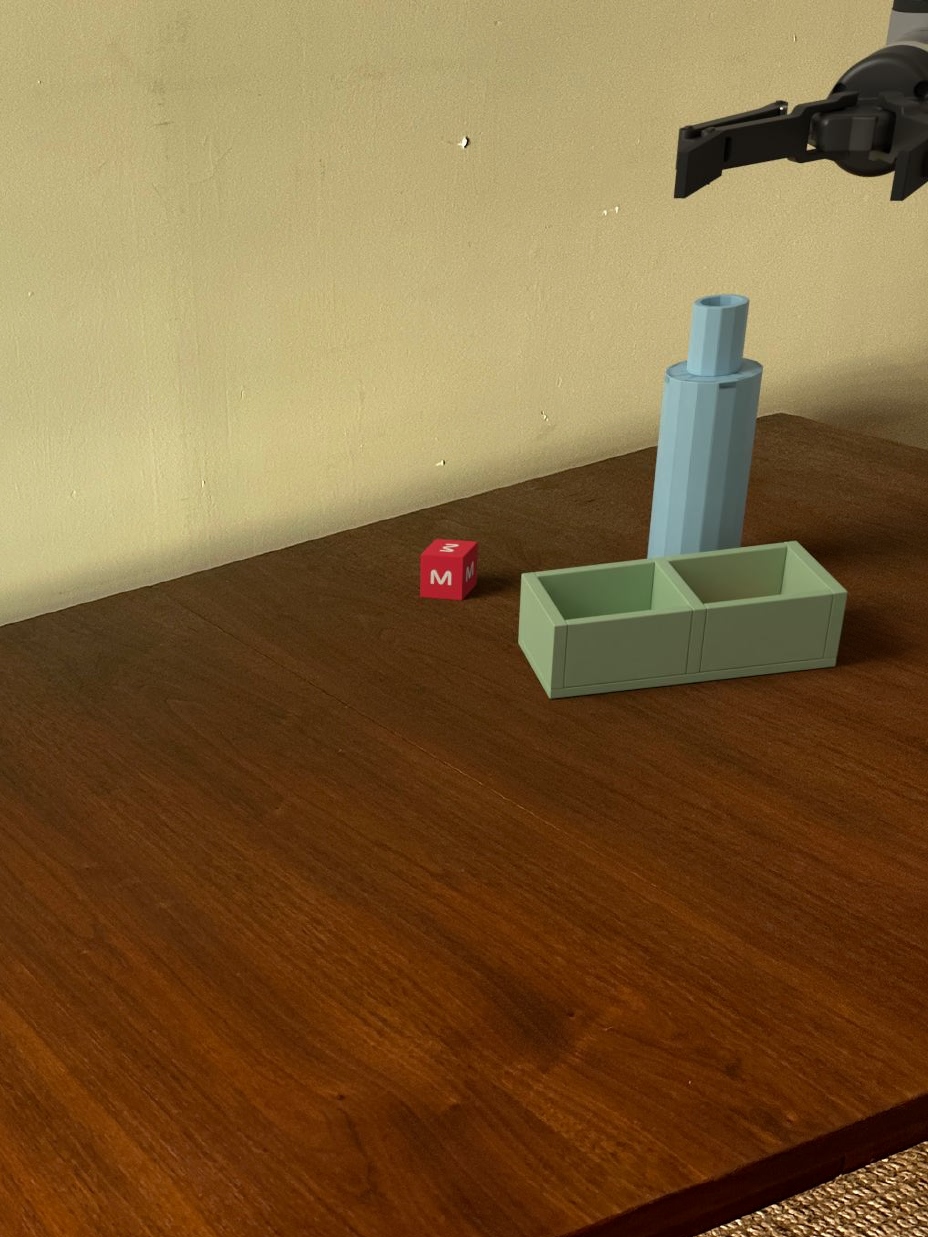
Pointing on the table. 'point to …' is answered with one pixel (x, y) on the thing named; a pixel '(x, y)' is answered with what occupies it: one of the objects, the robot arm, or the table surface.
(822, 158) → the robot arm
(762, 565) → the holder
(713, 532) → the bottle
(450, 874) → the table surface
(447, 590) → the red letter cube
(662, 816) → the table surface
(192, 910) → the table surface
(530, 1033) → the table surface
